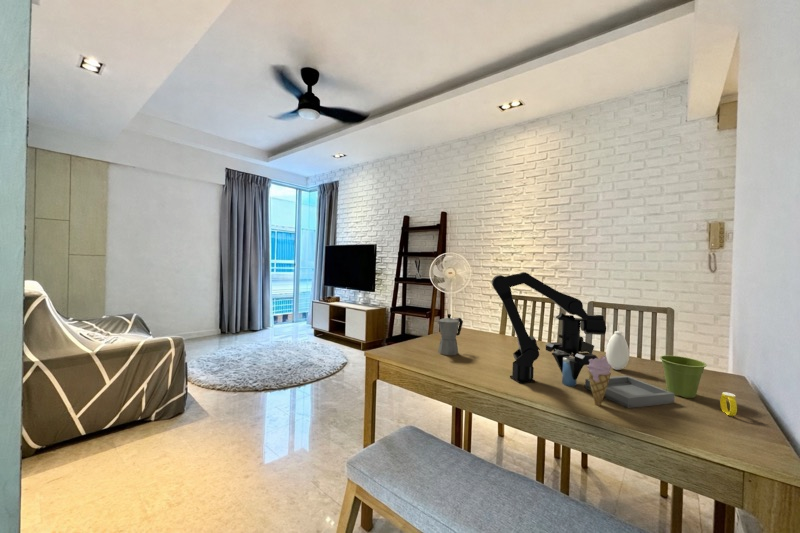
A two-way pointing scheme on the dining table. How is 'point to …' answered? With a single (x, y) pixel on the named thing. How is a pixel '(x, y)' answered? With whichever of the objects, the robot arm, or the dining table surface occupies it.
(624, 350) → the white vase
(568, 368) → the cylinder
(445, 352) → the coffeepot
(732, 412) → the watch
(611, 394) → the tray
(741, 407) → the dining table surface
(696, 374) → the plant pot
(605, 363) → the ice cream cone
